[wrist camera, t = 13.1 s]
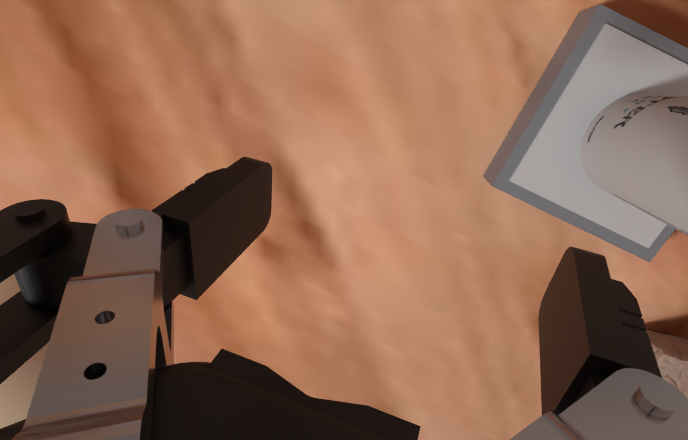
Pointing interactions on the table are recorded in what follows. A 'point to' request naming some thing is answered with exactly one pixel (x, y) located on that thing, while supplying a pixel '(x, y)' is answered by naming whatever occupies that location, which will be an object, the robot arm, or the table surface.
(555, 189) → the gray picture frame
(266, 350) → the table surface
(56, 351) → the robot arm
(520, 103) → the table surface
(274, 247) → the table surface
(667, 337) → the brick
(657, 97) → the energy drink can
